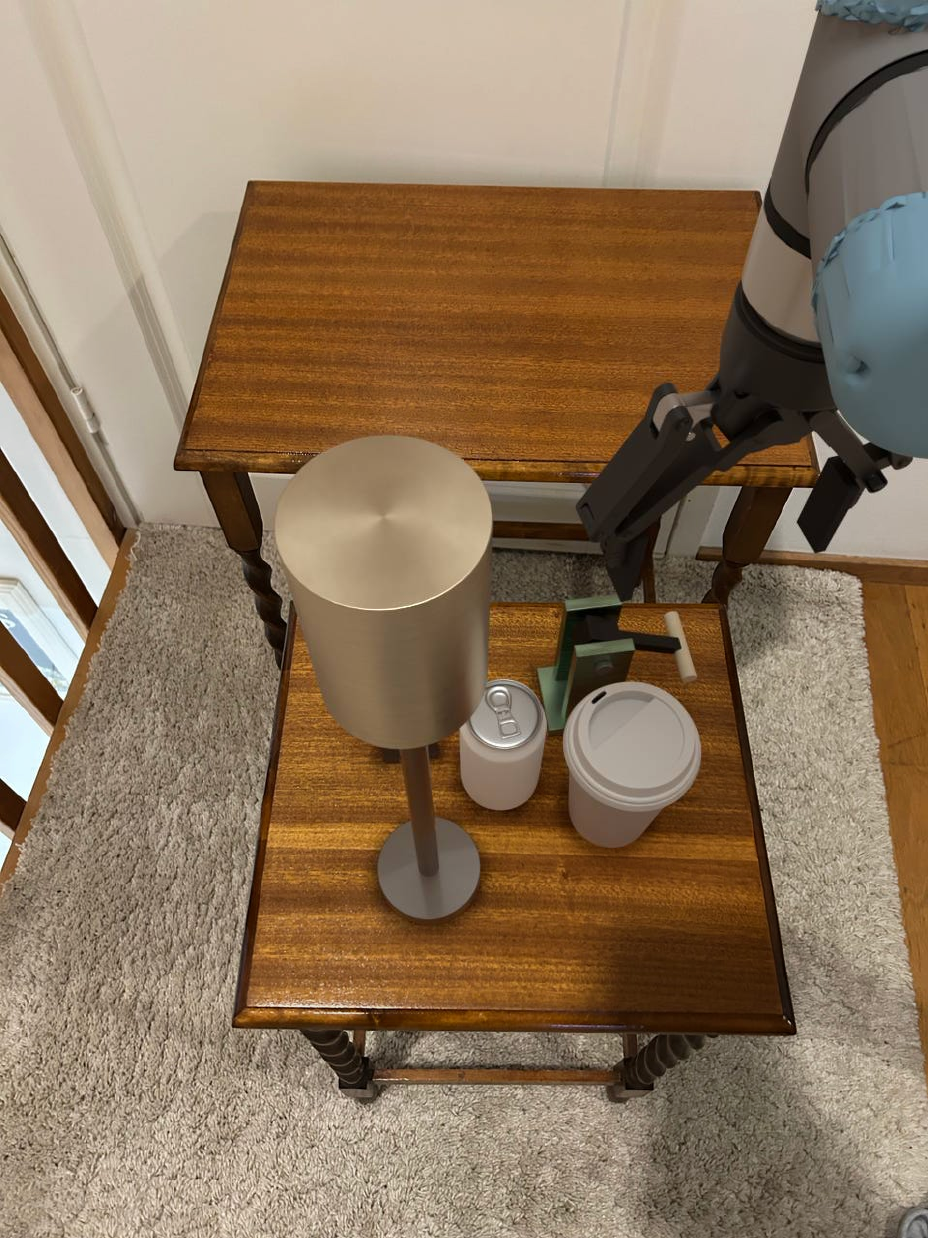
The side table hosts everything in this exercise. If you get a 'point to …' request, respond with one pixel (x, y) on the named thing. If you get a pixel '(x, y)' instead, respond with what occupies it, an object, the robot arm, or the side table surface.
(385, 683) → the lamp
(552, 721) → the bracket
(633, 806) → the coffee cup
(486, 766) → the can
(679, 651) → the lever
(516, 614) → the side table surface
